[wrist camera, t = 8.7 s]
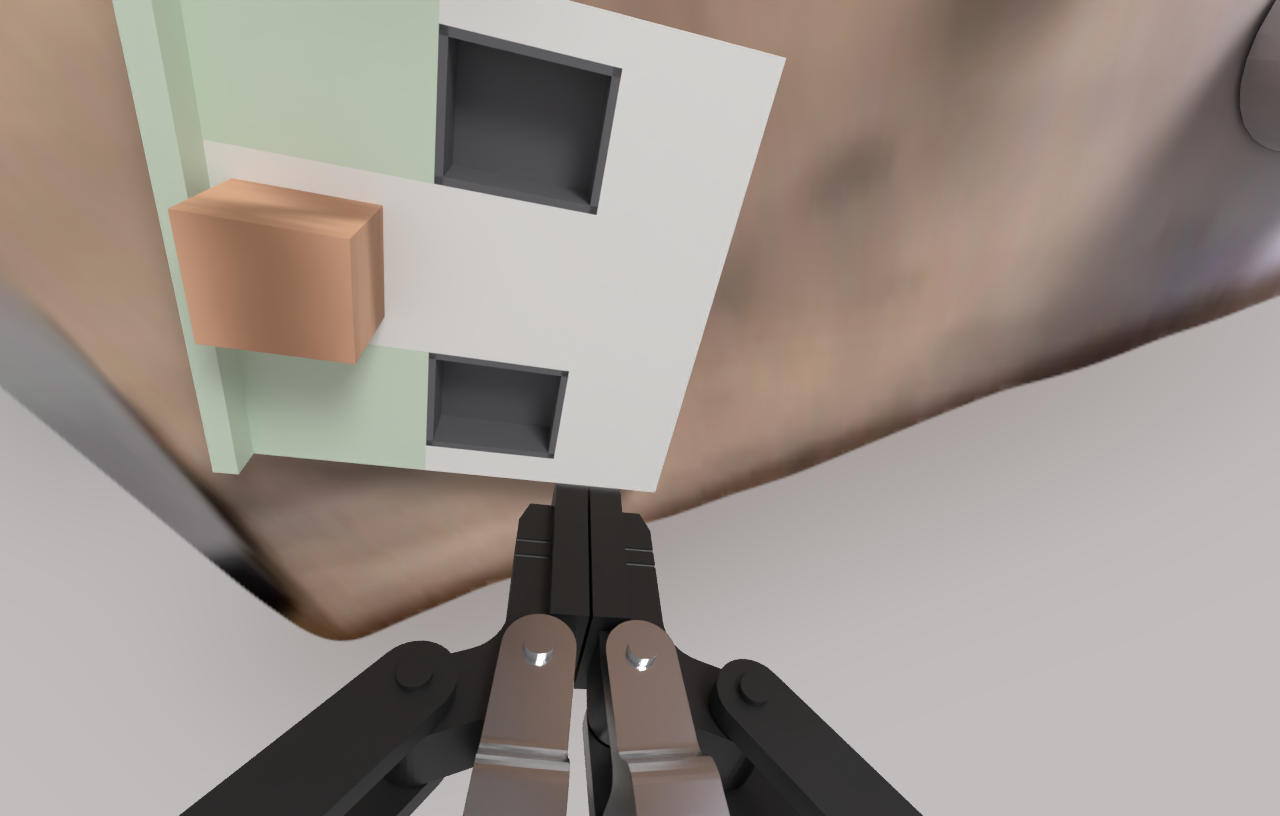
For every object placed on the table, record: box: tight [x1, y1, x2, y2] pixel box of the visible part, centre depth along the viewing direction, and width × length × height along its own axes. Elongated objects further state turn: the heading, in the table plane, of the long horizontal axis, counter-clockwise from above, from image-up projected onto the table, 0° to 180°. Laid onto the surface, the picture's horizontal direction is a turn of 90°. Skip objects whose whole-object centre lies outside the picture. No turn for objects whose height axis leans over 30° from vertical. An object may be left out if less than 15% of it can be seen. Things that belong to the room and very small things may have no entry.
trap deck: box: [112, 0, 786, 492], centre depth 24 cm, size 20×20×4 cm
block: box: [168, 178, 385, 364], centre depth 21 cm, size 5×4×4 cm
